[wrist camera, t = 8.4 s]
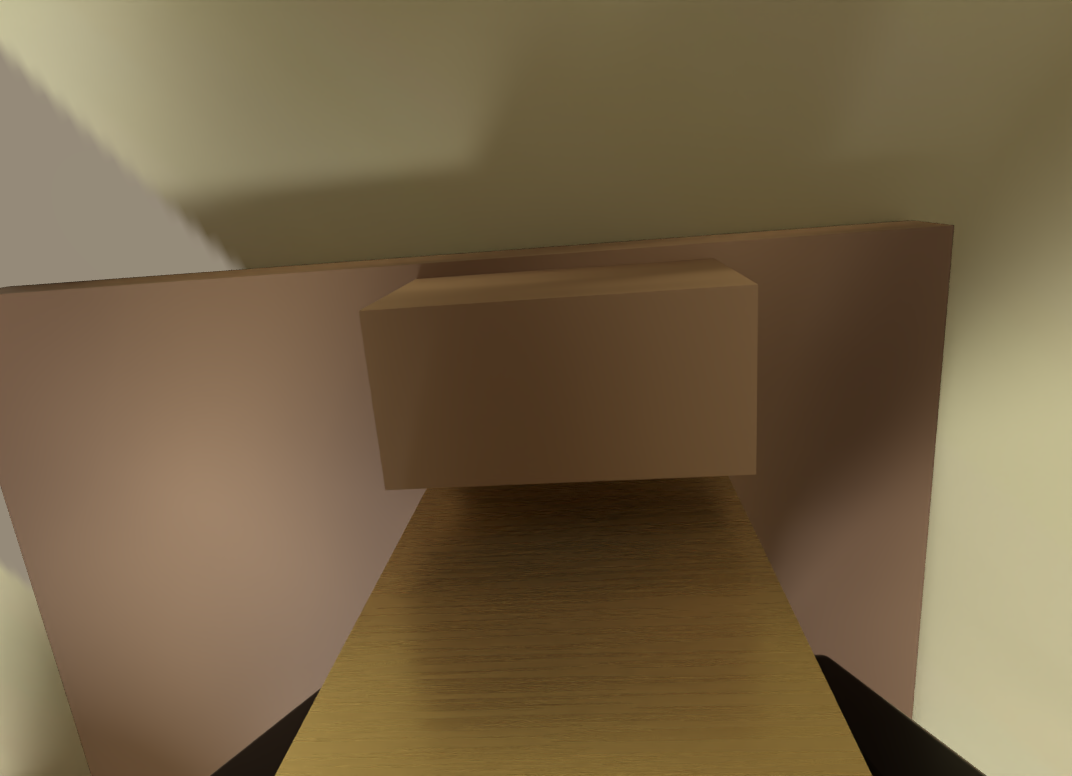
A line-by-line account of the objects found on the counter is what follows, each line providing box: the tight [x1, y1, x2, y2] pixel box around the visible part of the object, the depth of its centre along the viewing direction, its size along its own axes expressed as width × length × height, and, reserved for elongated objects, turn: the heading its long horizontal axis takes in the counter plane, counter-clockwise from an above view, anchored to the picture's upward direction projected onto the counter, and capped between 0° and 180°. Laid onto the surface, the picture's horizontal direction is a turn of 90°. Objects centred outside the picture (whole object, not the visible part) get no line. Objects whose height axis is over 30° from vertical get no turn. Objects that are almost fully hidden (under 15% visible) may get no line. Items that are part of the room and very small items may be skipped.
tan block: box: [275, 476, 872, 776], centre depth 8 cm, size 4×4×6 cm
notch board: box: [0, 220, 954, 776], centre depth 10 cm, size 14×10×4 cm
